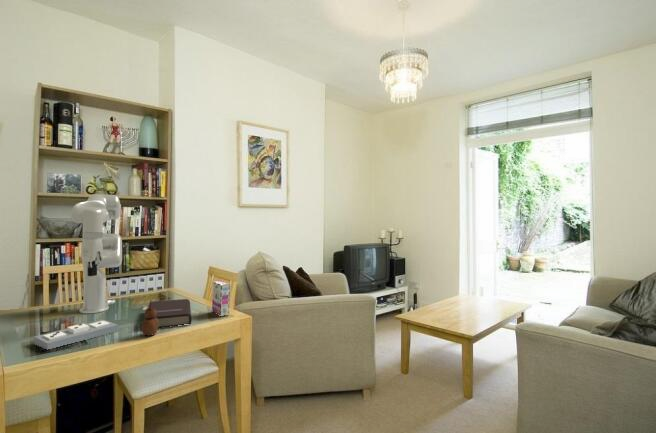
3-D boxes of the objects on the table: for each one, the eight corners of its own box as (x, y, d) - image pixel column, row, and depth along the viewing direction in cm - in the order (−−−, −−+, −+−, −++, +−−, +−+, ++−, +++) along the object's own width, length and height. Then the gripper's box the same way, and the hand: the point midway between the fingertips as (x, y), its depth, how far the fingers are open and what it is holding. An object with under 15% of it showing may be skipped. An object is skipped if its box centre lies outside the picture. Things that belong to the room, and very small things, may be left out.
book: (191, 325, 156) (191, 313, 156) (144, 330, 148) (144, 317, 148) (189, 309, 182) (190, 298, 182) (149, 312, 174) (149, 301, 174)
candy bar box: (229, 315, 172) (230, 284, 172) (220, 317, 169) (220, 285, 168) (220, 310, 180) (221, 280, 180) (211, 312, 177) (212, 281, 177)
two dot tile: (82, 330, 142) (82, 322, 142) (89, 333, 139) (89, 325, 139) (67, 334, 137) (67, 326, 137) (73, 337, 134) (73, 329, 134)
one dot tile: (103, 327, 149) (103, 320, 149) (109, 329, 146) (109, 322, 146) (89, 331, 144) (89, 323, 144) (95, 333, 141) (95, 325, 141)
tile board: (103, 326, 152) (103, 319, 152) (117, 331, 146) (117, 324, 146) (34, 344, 130) (34, 336, 130) (47, 351, 124) (47, 343, 124)
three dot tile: (60, 338, 135) (60, 330, 135) (66, 341, 132) (66, 333, 132) (43, 343, 130) (43, 334, 130) (49, 346, 127) (49, 337, 127)
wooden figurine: (146, 332, 146) (147, 298, 146) (160, 332, 147) (161, 298, 146) (139, 338, 139) (140, 302, 139) (153, 337, 140) (154, 302, 140)
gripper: (75, 234, 152) (74, 274, 153) (92, 238, 144) (91, 279, 145) (93, 233, 158) (92, 271, 159) (110, 236, 151) (109, 276, 152)
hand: (92, 275), depth 152 cm, fingers closed
